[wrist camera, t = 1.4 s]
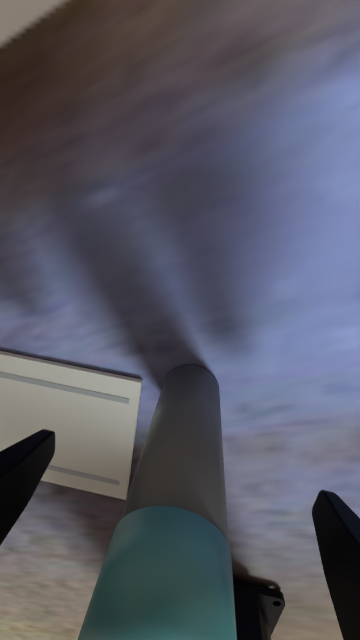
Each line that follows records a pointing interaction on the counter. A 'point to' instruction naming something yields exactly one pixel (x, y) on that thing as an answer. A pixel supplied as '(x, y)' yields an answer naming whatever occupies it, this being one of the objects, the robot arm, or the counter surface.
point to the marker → (171, 528)
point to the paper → (72, 420)
